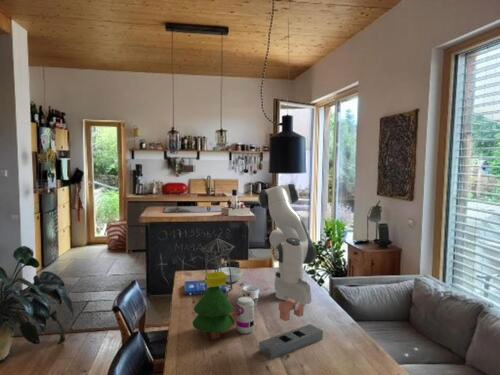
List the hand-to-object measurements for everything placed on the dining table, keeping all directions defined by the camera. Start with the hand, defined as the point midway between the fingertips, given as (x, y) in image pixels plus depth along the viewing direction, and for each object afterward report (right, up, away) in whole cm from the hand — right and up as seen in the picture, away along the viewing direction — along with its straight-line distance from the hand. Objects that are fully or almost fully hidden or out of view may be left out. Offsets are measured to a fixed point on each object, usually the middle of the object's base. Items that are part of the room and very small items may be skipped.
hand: (291, 307), depth 160 cm
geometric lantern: (-37, -12, +56) cm, 68 cm away
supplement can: (-21, -16, +15) cm, 30 cm away
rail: (0, -17, +2) cm, 17 cm away
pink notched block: (0, -4, 0) cm, 4 cm away
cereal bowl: (-32, -10, +84) cm, 90 cm away
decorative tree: (-35, -16, +10) cm, 40 cm away
